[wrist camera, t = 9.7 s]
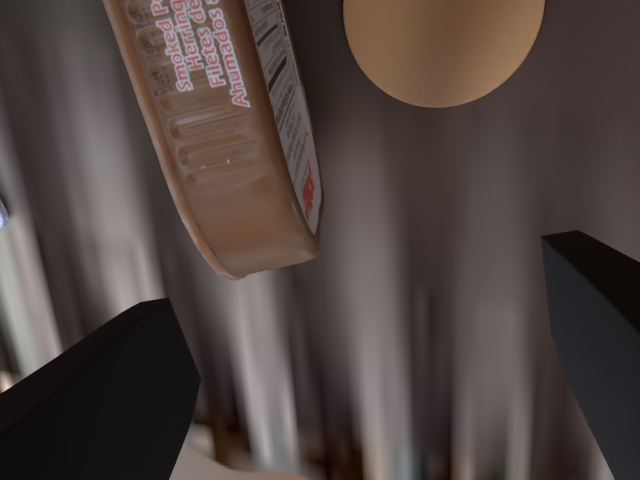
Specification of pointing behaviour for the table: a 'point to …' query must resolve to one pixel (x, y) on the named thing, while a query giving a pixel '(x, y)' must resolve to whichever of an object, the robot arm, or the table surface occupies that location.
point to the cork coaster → (440, 45)
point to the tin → (227, 126)
